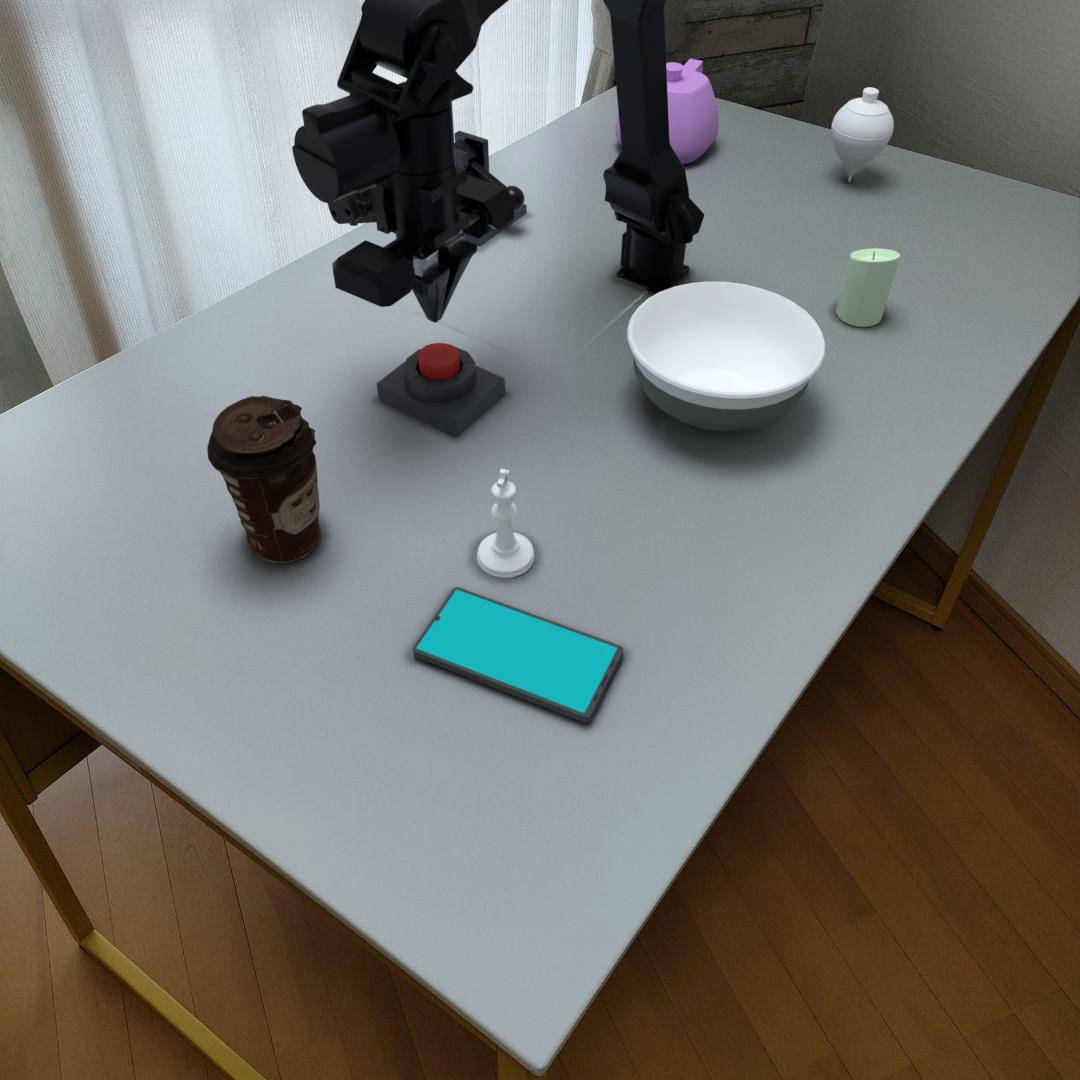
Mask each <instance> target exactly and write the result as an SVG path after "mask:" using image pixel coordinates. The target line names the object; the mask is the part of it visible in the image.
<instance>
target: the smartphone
mask: <svg viewBox="0 0 1080 1080" xmlns="http://www.w3.org/2000/svg"><path fill="white" fill-rule="evenodd" d="M412 651H413V656H414V658H417V659H419V660H421V661H425V662H427V663H429V664H432V665H435V666H437V667H440V668H442V669H445V670H447V671H450V672H453V673H455V674H457V675H461V676H462V677H465V678H467V679H471V680H473V681H476V682H477V683H481V684H484V685H486V686H489V687H491V688H494V689H496V690H498V691H501V692H504V693H506V694H509V695H512V696H514V697H517V698H519V699H522V700H525V701H527V702H529V703H532V704H535V705H537V706H540V707H542V708H545V709H548V710H550V711H552V712H555V713H557V714H561V715H563V716H566V717H567V718H570V719H574V720H576V721H578V722H581V723H583V724H588V723H590V722H591V720H592V718H593V717H594V714H595V713H596V710H597V708H598V706H599V705H600V702H601V701H602V698H603V697H604V694H605V692H606V690H607V688H608V686H609V684H610V682H611V681H612V679H613V676H614V675H615V673H616V670H617V668H618V667H619V664H621V663H620V662H621V661H622V658H623V656H624V648H623V646H622V645H620V644H616V643H614V642H611V641H608V640H605V639H603V638H599V637H597V636H594V635H592V634H589V633H586V632H583V631H581V630H577V629H576V628H573V627H569V626H566V625H564V624H562V623H558V622H556V621H552V620H550V619H547V618H545V617H542V616H538V615H536V614H534V613H530V612H528V611H526V610H522V609H519V608H517V607H514V606H511V605H509V604H506V603H503V602H501V601H497V600H494V599H492V598H489V597H486V596H484V595H481V594H478V593H476V592H473V591H470V590H468V589H465V588H462V587H454V588H452V590H451V591H450V593H449V594H448V596H447V597H446V599H445V600H444V602H442V604H441V606H440V608H438V610H437V611H436V613H435V615H434V616H433V617H432V619H430V622H428V625H427V626H426V628H425V629H424V630H423V632H422V634H421V635H420V636H419V637H418V639H417V640H416V642H415V643H414V646H413V647H412Z"/></svg>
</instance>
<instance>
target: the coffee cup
mask: <svg viewBox="0 0 1080 1080" xmlns="http://www.w3.org/2000/svg"><path fill="white" fill-rule="evenodd" d="M302 410H303V408H302V407H301V406H300V405H298V404H295V403H293V402H292V400H289V399H288V400H287V399H282V398H281V399H280V398H275V397H271V396H266V395H261V396H257V395H252V396H251V395H250V396H248V397H245V398H241V399H240V400H237V401H236V402H234V403H232V404H230V405H228V406H226V408H224V409H222V410H221V412H219V414H218V415H217V416H216V418H215V419H214V421H213V424H212V430H211V434H210V436H209V440H208V444H207V447H206V449H207V453H206V454H207V460H208V461H209V462H210V464H211V466H212V467H213V468H214V469H215V470H216V471H218V472H219V473H220V475H221V476H222V478H223V481H224V483H225V485H226V489H227V492H228V493H229V494H230V496H231V498H232V502H233V504H234V506H235V507H236V511H237V514H238V517H239V519H240V524H241V526H242V528H243V529H244V531H245V534H246V543H247V545H248V548H249V549H250V550H251V551H252V552H253V553H254V554H255V555H256V556H257V557H258V558H260V559H261V560H263V561H266V562H268V563H274V564H287V563H291V562H294V561H297V560H298V561H299V560H300V559H303V558H305V557H306V556H308V555H309V554H311V553H312V551H314V550H315V548H316V547H317V546H318V545H319V543H320V541H321V537H322V529H321V524H320V521H319V520H320V519H319V513H320V508H321V507H320V506H321V504H320V503H321V502H320V492H319V486H318V483H319V482H318V479H319V478H318V467H317V458H316V454H315V453H314V447H315V446H316V445H317V440H316V435H315V433H316V429H314V428H312V427H310V423H309V421H307V420H306V419H305V418H303V417H302Z"/></svg>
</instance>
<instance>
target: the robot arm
mask: <svg viewBox="0 0 1080 1080" xmlns="http://www.w3.org/2000/svg"><path fill="white" fill-rule="evenodd" d="M509 1H510V0H364V2H363V3H362V5H361V7H360V11H361V16H360V20H359V23H358V25H357V28H356V31H355V34H354V37H353V39H352V42H351V44H350V47H349V49H348V53H347V54H346V58H345V60H344V63H343V66H342V68H341V71H340V74H339V76H338V79H337V82H336V86H337V88H338V89H340V90H342V91H343V92H346V93H348V94H349V95H346V96H343V97H341V98H338V99H335V100H332V101H330V102H327V103H321V104H320V103H319V104H313V105H311V106H308V107H305V108H303V110H302V111H301V116H302V121H303V125H302V126H300V127H298V128H297V130H296V131H295V135H294V140H293V141H294V144H293V145H292V147H291V149H292V156H293V160H294V164H295V166H296V168H297V171H298V173H299V176H300V177H301V179H302V182H303V183H304V185H305V186H306V189H308V191H309V192H310V193H311V195H313V196H314V197H315V198H316V199H317V200H318V201H320V202H322V203H325V204H327V207H328V211H329V213H330V215H331V218H332V220H333V222H335V223H336V224H337V225H344V224H345V225H346V224H347V225H348V224H349V226H351V227H357V226H358V225H359V224H371V223H376V230H377V231H378V232H381V233H383V234H386V235H389V234H390V233H392V234H394V235H395V239H393V240H392V241H391V242H389V243H388V244H386V245H385V246H381V245H379V244H376V243H374V242H371V241H369V240H363V241H361V242H360V243H359V244H357V245H356V246H354V247H352V248H350V249H349V250H347V251H346V252H345V253H343V254H341V255H340V256H338V257H337V258H336V259H335V260H334V261H333V262H332V264H331V266H332V273H333V274H332V275H333V280H334V286H335V287H334V288H335V289H337V290H340V291H342V292H344V293H346V294H349V295H352V296H354V297H356V298H359V299H361V300H363V301H365V302H369V303H371V304H373V305H374V306H375V305H376V306H378V307H380V308H385V307H386V308H387V307H392V306H394V305H395V304H396V303H398V302H399V301H400V300H402V299H404V297H405V296H408V295H409V294H410V293H411V292H412V293H413V295H414V297H415V298H416V300H417V302H418V304H419V306H420V308H421V309H422V311H423V314H424V315H425V317H426V319H427V320H429V321H430V322H432V323H435V324H436V323H438V322H439V321H440V320H442V319H443V316H444V314H445V312H446V310H447V308H448V305H449V303H450V302H451V300H452V297H453V295H454V292H455V291H456V288H457V286H458V284H459V282H460V280H461V278H462V277H463V274H464V273H465V271H466V269H467V267H468V265H469V263H470V261H471V259H472V258H473V256H474V255H475V254H476V253H477V252H478V246H477V245H476V244H473V243H471V242H468V241H465V234H462V233H463V231H462V230H464V229H465V228H467V227H468V226H469V225H471V224H472V223H474V222H475V221H477V220H478V219H479V214H480V213H484V214H487V224H488V225H489V226H490V227H492V228H493V229H496V230H499V229H500V228H502V227H503V226H504V225H506V224H507V223H509V222H510V221H512V220H513V219H514V200H513V198H512V197H511V195H510V194H509V192H508V191H507V190H506V188H504V187H501V186H498V185H495V184H492V183H489V182H486V181H483V180H480V179H477V178H474V177H471V176H468V175H467V169H464V168H461V167H458V166H456V160H455V145H454V143H455V135H454V134H455V132H454V131H455V129H454V114H453V113H454V112H453V102H454V101H456V100H458V99H461V98H463V97H465V96H468V95H470V94H472V93H473V92H474V86H473V84H472V83H470V82H469V81H468V80H467V79H465V78H464V77H462V76H461V75H460V74H459V73H458V72H457V70H458V69H459V68H460V66H462V64H463V63H464V62H465V61H466V60H467V59H468V57H470V55H471V54H472V53H473V52H474V50H475V49H476V47H477V45H478V41H479V38H480V34H481V30H482V26H483V25H484V24H485V22H487V21H488V19H489V18H490V17H491V16H492V15H493V14H494V13H495V12H497V11H498V10H499V9H500V8H502V7H503V6H504V5H505V4H507V3H508V2H509ZM602 2H603V4H604V6H605V7H606V9H607V10H608V13H609V17H610V29H611V43H612V50H613V51H612V55H613V64H614V75H615V76H614V77H615V88H616V98H617V99H616V100H617V110H618V114H619V124H620V136H621V145H620V151H619V152H618V154H617V156H616V158H615V159H614V161H613V163H611V166H609V167H608V168H606V169H605V170H604V171H603V174H602V176H603V180H604V185H605V194H604V195H605V196H604V202H607V203H608V204H609V205H610V208H611V209H612V210H613V212H614V216H615V220H616V221H618V222H622V223H624V224H626V226H625V232H623V233H622V235H621V248H620V250H621V251H620V262H619V263H620V266H621V268H620V269H619V270H618V271H617V272H616V273H615V276H616V277H617V278H619V279H622V280H624V281H628V282H631V283H633V284H636V285H638V286H642V287H644V288H646V290H648V291H650V292H652V293H655V294H657V293H659V292H661V291H664V290H667V289H669V288H672V287H675V286H676V284H677V283H678V282H679V281H681V280H682V279H683V278H684V277H685V276H686V275H687V274H688V273H689V272H690V267H689V265H686V264H685V255H686V247H687V244H690V243H692V242H693V239H694V236H696V235H697V234H699V232H700V229H701V227H702V225H703V224H702V223H703V221H704V218H705V213H704V212H703V211H702V209H701V208H700V207H698V205H697V204H696V203H695V202H694V201H693V200H692V199H691V198H690V191H689V184H688V179H687V173H686V168H685V167H684V164H682V163H681V162H680V160H679V158H678V157H677V155H676V153H675V152H674V150H673V148H672V147H671V145H670V141H669V117H668V93H667V68H666V63H667V47H666V45H667V44H666V23H665V22H666V21H665V4H666V3H667V0H602ZM377 66H378V67H380V68H382V69H385V70H387V71H389V72H391V73H394V74H396V75H397V76H401V77H403V78H405V79H406V80H405V81H402V82H400V83H399V82H398V83H396V82H394V81H391V80H390V79H387V78H385V77H383V76H381V75H379V74H377V73H374V70H375V69H377Z"/></svg>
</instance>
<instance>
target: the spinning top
mask: <svg viewBox="0 0 1080 1080" xmlns="http://www.w3.org/2000/svg"><path fill="white" fill-rule="evenodd" d="M879 93H880V90H879V89H877V88H875V87H872V86H871V87H869V86H867V87H865V88H864V89H863V90H862V96H861V97H856V98H852V99H850V100H848V101H847V103H845V104H844V105H843V106H841V107H840V109H838V111H837V112H836V113H835V115H834V117H833V119H832V122H831V128H830V132H831V133H830V134H831V139H832V143H833V146H834V150H835V152H836V154H837V156H838V159H839V161H840V163H841V165H842V167H843V169H844V170H845V172H846V173H847V174H848V179H847V181H848V182H852V178H853V176H854V175H856V174H858V173H859V172H860V171H861V170H863V169H864V168H865V167H866V166H867V165H868V164H870V163H871V162H872V161H873V160H874V159H875V158H877V156H878V155H880V153H881V152H882V151H883V150H884V148H885V147H886V146H887V145H888V144H889V142H890V141H891V139H892V136H893V134H894V128H895V123H894V117H893V115H892V113H891V110H890V108H889V107H888V105H887V104H886V103H884V102H883V101H881V100H879V99H878V97H879Z"/></svg>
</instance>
